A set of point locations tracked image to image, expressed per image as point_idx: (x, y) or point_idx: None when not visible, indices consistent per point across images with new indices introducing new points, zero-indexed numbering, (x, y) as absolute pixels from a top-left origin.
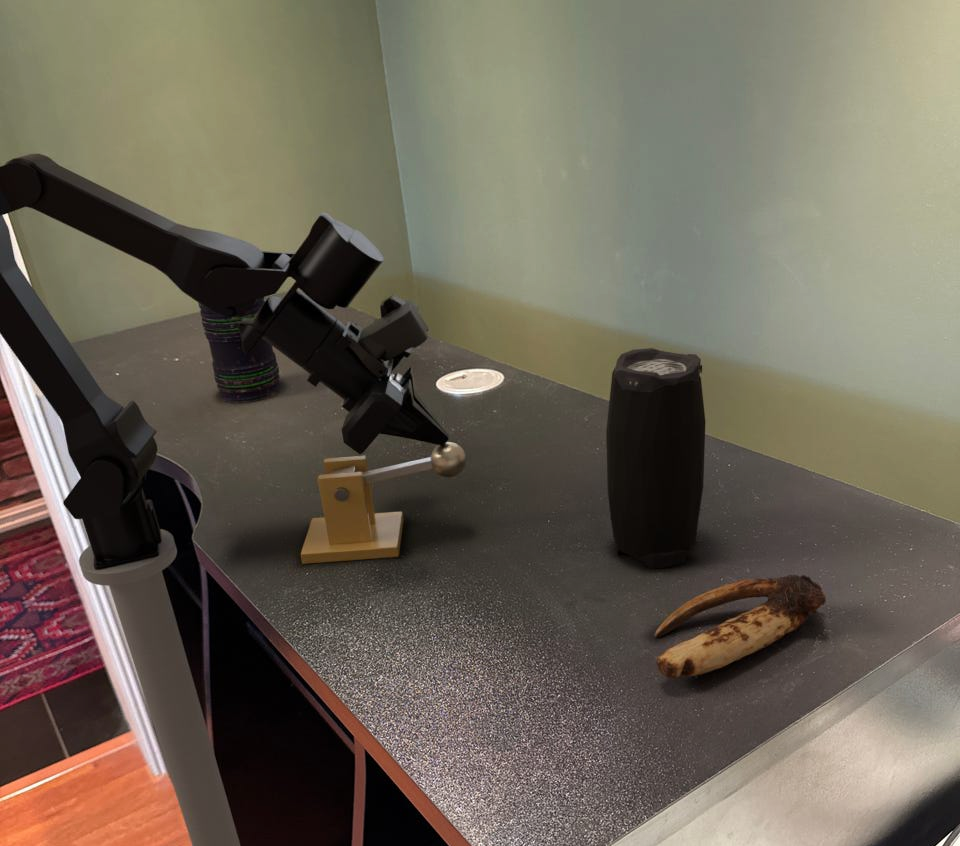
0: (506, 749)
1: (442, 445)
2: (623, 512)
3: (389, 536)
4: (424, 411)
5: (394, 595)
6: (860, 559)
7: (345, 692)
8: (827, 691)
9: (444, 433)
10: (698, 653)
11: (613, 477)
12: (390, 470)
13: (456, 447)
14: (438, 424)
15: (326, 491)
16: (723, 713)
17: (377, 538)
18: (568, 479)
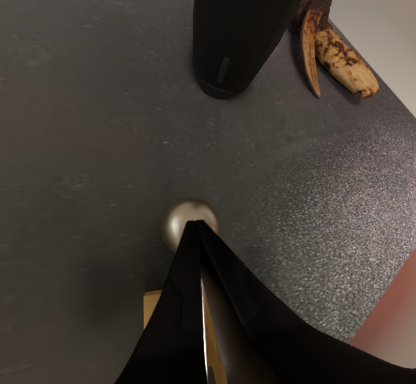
0: (406, 180)
1: None
2: (267, 58)
3: (204, 298)
4: (226, 281)
5: (283, 270)
6: None
7: (387, 280)
8: (346, 41)
9: (207, 226)
10: (372, 73)
11: (277, 30)
12: (205, 328)
13: (199, 207)
14: (197, 240)
15: None
16: None
17: (208, 311)
18: (72, 115)
